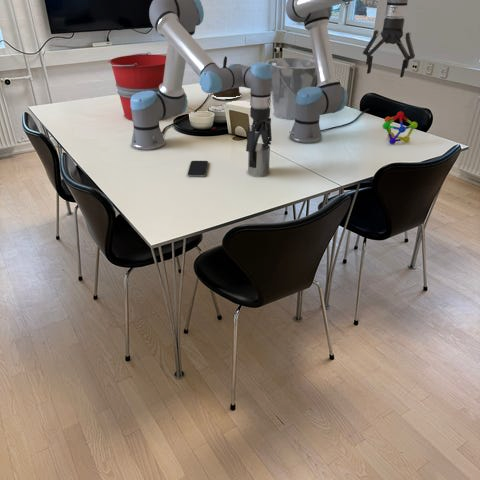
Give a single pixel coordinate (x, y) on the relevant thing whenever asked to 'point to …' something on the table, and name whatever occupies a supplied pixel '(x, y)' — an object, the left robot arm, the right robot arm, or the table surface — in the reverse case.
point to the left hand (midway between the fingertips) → (258, 163)
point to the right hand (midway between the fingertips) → (384, 75)
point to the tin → (260, 161)
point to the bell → (230, 92)
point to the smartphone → (198, 168)
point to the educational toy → (398, 128)
